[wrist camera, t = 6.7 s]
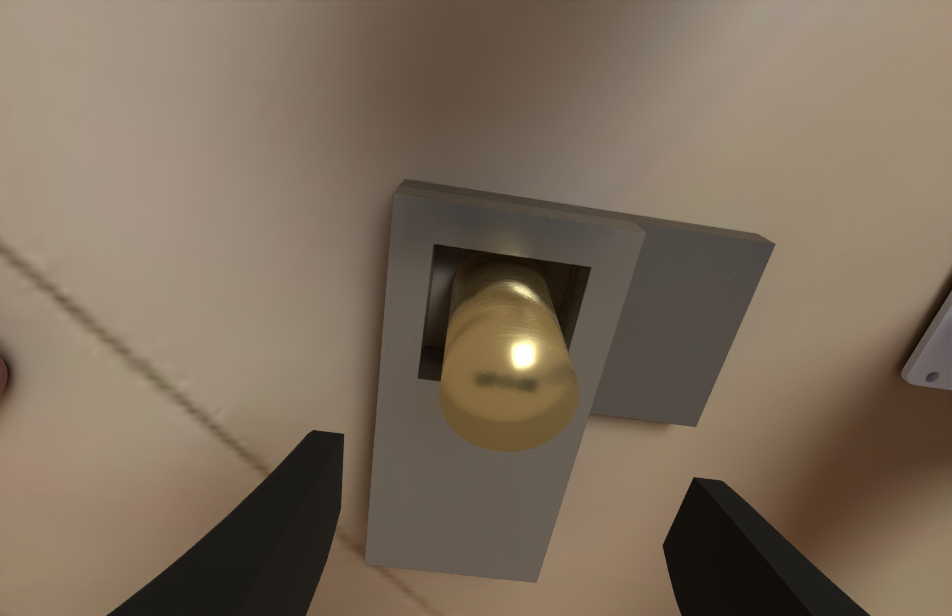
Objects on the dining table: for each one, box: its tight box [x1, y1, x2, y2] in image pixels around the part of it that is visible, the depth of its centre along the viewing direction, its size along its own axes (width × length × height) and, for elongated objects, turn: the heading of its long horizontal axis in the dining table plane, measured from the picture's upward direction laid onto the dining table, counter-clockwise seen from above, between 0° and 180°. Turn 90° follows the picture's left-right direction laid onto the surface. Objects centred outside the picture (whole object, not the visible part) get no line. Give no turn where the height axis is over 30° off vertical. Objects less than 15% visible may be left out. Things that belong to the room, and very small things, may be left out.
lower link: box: [400, 179, 775, 427], centre depth 18 cm, size 13×8×1 cm, turn 81°
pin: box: [439, 250, 579, 452], centre depth 16 cm, size 4×4×7 cm
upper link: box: [365, 186, 646, 583], centre depth 20 cm, size 8×17×2 cm, turn 171°
